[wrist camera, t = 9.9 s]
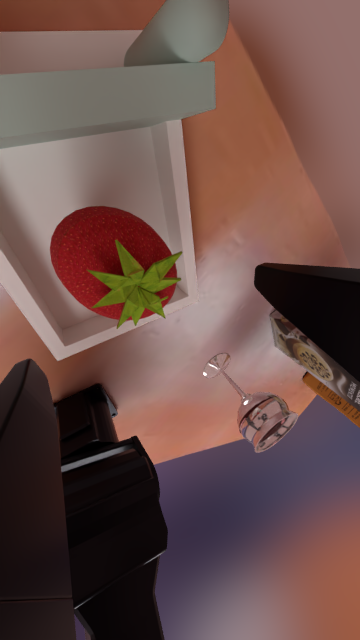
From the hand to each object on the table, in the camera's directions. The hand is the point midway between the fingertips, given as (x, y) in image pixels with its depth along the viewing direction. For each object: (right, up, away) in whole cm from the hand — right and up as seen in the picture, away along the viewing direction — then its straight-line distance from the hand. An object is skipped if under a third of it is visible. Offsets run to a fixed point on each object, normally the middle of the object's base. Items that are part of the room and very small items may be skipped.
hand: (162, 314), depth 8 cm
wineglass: (+6, -7, +27) cm, 28 cm away
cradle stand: (-6, +7, +8) cm, 13 cm away
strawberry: (-5, +6, +8) cm, 12 cm away
